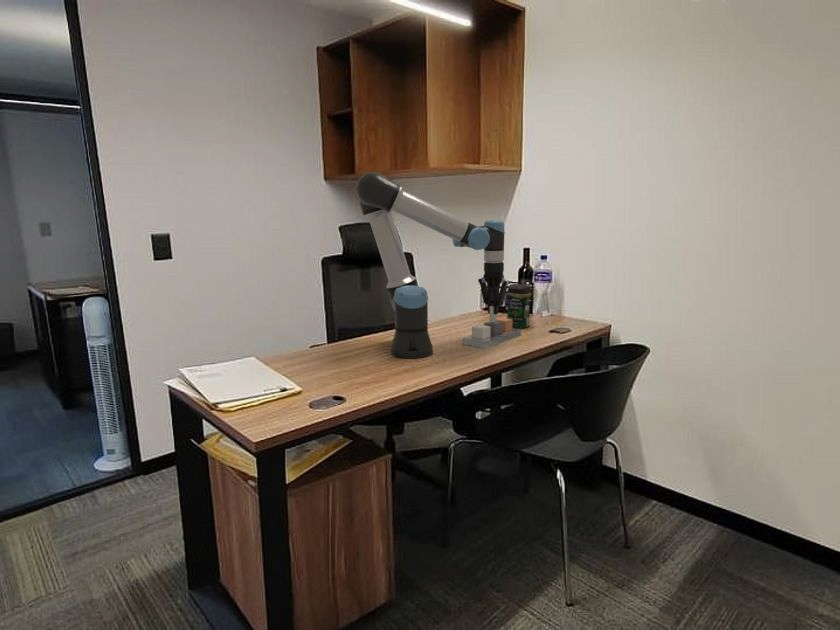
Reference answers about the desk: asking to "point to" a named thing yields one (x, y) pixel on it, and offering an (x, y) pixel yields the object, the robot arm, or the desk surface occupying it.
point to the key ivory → (481, 332)
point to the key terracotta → (506, 324)
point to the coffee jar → (519, 305)
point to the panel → (491, 339)
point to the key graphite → (494, 328)
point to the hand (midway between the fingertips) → (493, 322)
